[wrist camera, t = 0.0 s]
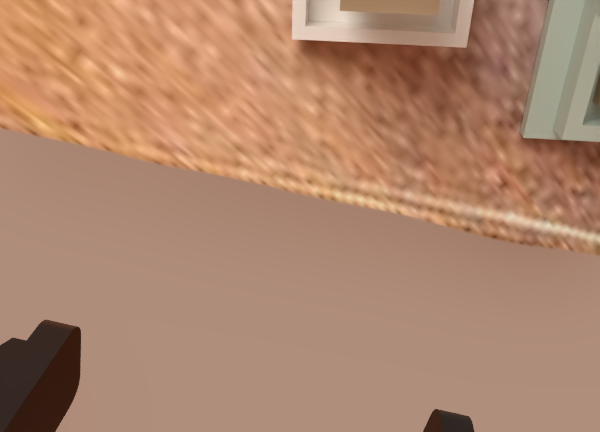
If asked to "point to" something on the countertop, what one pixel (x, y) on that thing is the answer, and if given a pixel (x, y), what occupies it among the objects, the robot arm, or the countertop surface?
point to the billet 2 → (597, 93)
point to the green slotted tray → (566, 75)
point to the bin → (382, 24)
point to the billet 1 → (392, 6)
